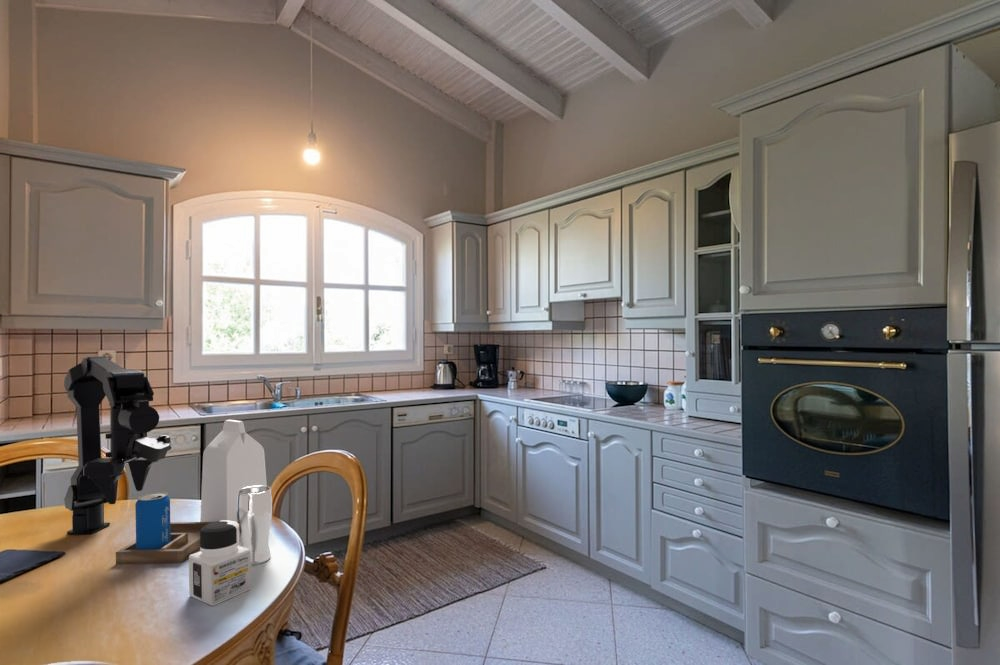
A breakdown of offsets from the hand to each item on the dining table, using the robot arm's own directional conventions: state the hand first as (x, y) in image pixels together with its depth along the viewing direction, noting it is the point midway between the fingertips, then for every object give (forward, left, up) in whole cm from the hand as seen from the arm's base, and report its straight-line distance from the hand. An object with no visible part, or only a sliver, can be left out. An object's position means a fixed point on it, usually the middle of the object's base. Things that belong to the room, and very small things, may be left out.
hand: (126, 497), depth 122 cm
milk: (-20, +14, -13) cm, 28 cm away
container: (+20, +30, -13) cm, 39 cm away
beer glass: (+5, +30, -13) cm, 33 cm away
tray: (-3, +8, -12) cm, 15 cm away
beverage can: (+1, +6, -12) cm, 13 cm away
